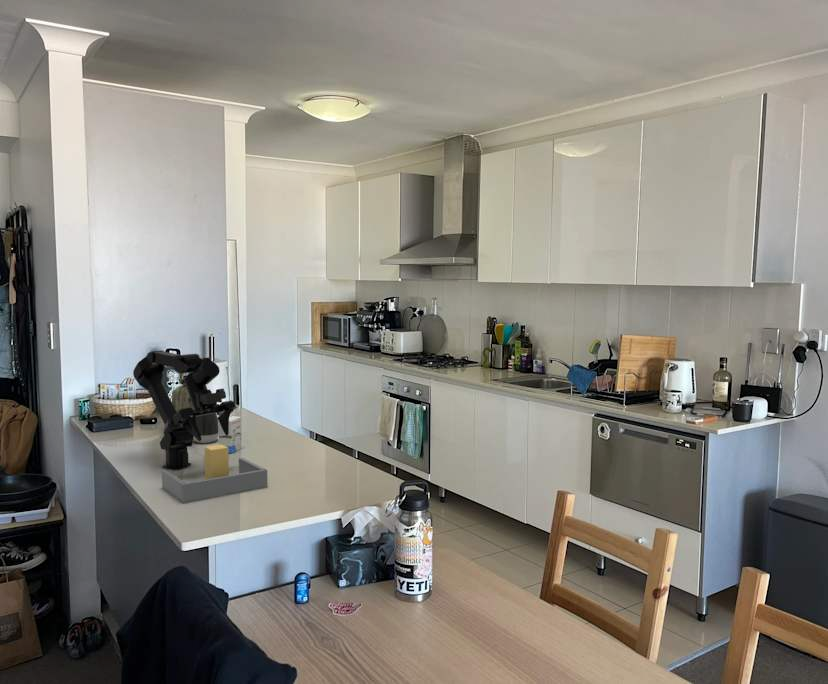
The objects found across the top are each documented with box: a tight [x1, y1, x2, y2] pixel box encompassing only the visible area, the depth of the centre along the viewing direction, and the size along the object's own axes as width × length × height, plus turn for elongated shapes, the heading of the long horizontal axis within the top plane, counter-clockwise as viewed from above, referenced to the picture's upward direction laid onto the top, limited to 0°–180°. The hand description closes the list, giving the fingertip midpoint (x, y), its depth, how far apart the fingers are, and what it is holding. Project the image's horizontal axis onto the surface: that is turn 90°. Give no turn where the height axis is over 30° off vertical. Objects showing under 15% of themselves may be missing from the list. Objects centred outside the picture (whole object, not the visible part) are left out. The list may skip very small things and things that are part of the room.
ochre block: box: [203, 444, 230, 480], centre depth 197 cm, size 5×5×12 cm
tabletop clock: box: [171, 372, 194, 412], centre depth 279 cm, size 14×9×25 cm, turn 179°
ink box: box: [218, 415, 242, 455], centre depth 245 cm, size 9×5×12 cm, turn 168°
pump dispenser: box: [193, 403, 220, 444], centre depth 258 cm, size 10×10×15 cm
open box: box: [161, 457, 268, 504], centre depth 199 cm, size 17×24×6 cm
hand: (214, 437), depth 210 cm, fingers open, 9 cm apart
